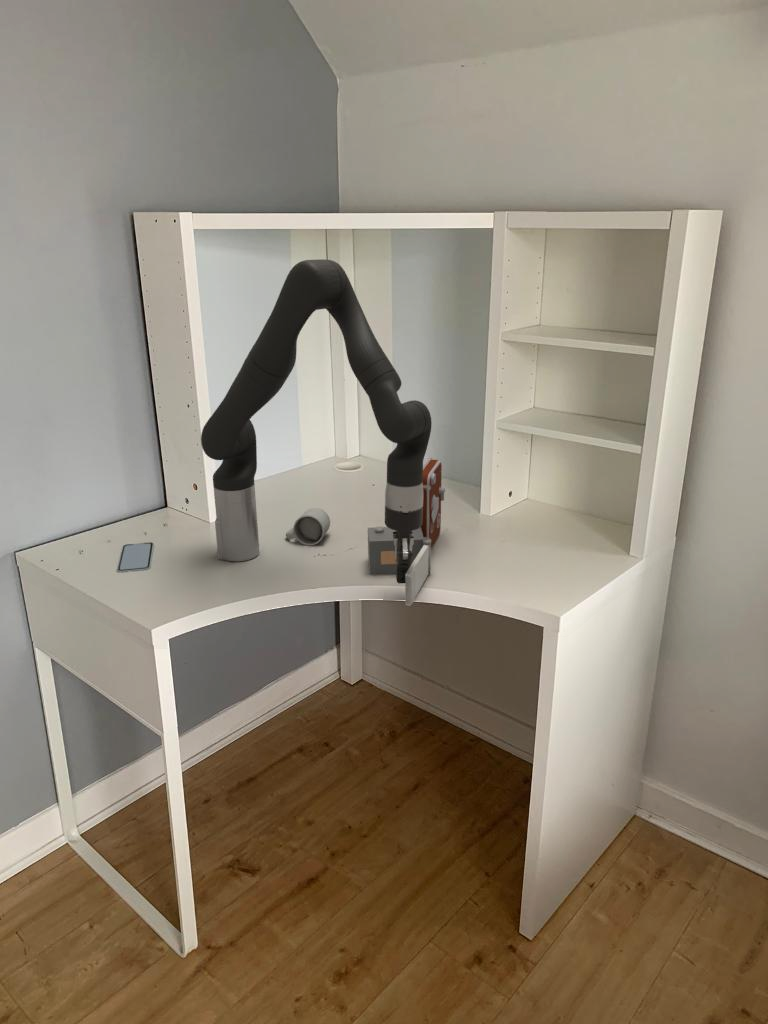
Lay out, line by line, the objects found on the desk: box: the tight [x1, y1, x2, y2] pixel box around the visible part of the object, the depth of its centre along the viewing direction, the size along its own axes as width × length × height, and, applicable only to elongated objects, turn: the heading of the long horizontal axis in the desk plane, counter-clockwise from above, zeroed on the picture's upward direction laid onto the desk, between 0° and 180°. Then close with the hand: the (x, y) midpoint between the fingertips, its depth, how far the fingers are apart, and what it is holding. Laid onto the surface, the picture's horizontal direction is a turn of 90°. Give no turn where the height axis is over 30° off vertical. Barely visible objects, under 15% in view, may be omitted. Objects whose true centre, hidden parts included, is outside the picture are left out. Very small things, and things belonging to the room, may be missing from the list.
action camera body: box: [367, 526, 431, 576], centre depth 177 cm, size 14×10×9 cm
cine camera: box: [421, 455, 446, 550], centre depth 190 cm, size 9×19×20 cm, turn 164°
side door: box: [404, 544, 432, 607], centre depth 166 cm, size 17×2×7 cm, turn 163°
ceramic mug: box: [285, 507, 331, 546], centre depth 193 cm, size 11×8×8 cm
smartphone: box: [116, 541, 155, 573], centre depth 185 cm, size 7×1×15 cm
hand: (401, 581), depth 162 cm, fingers closed
